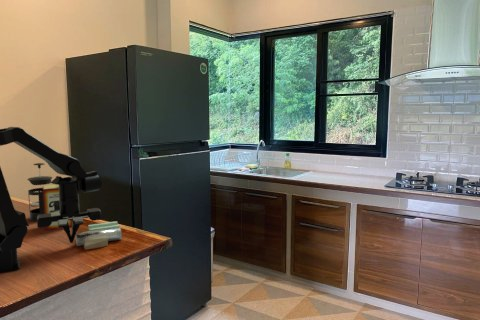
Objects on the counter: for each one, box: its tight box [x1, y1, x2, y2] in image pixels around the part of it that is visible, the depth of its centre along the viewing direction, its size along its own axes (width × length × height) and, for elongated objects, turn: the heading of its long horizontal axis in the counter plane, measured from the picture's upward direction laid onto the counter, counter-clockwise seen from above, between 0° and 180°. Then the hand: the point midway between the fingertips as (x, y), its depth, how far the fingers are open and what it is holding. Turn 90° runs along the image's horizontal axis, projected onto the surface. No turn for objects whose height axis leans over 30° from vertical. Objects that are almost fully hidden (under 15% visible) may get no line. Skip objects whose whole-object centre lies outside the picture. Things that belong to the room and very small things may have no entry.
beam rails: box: [81, 229, 109, 250], centre depth 121 cm, size 9×7×3 cm
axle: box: [75, 227, 123, 247], centre depth 121 cm, size 14×4×4 cm, turn 120°
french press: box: [26, 162, 53, 222], centre depth 148 cm, size 12×9×23 cm
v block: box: [87, 220, 121, 231], centre depth 131 cm, size 6×10×3 cm, turn 119°
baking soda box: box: [42, 184, 72, 231], centre depth 138 cm, size 10×6×16 cm
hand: (71, 242), depth 117 cm, fingers closed
